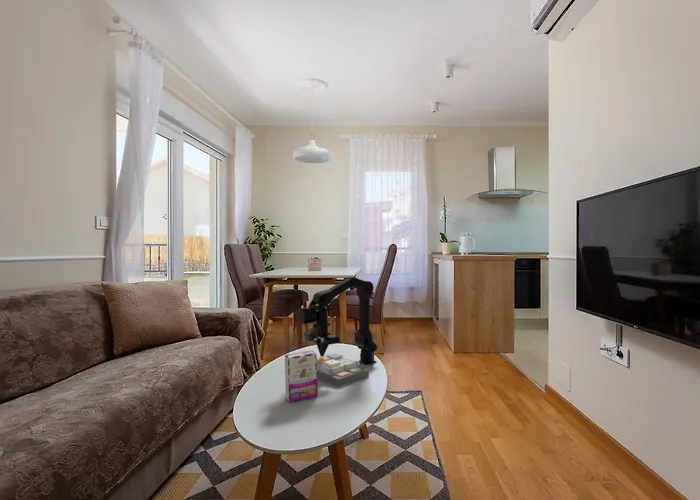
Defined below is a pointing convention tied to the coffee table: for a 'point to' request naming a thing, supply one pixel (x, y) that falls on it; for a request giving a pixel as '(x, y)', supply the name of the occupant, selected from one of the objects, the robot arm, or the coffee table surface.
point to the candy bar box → (301, 376)
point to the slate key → (335, 356)
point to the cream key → (332, 363)
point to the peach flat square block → (322, 359)
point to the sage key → (345, 361)
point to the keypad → (341, 373)
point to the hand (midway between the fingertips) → (322, 356)
